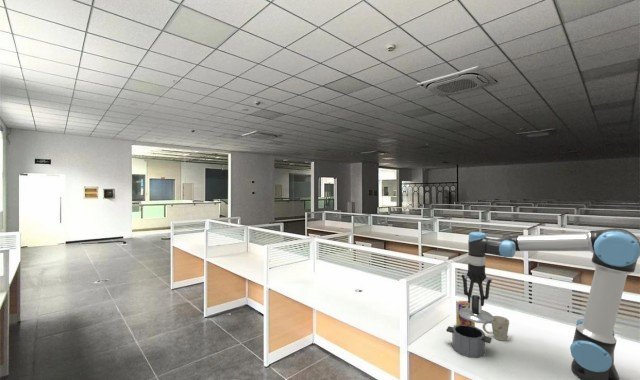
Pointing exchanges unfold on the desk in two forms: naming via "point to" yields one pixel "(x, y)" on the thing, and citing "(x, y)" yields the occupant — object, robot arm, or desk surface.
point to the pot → (468, 340)
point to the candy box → (458, 318)
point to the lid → (475, 312)
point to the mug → (499, 327)
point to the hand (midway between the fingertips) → (475, 310)
